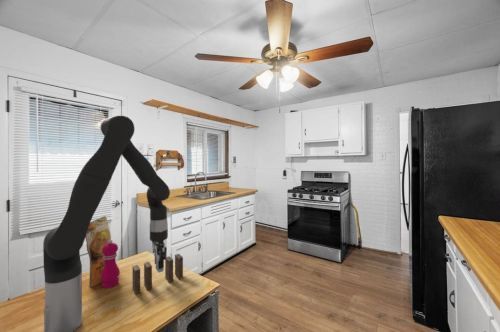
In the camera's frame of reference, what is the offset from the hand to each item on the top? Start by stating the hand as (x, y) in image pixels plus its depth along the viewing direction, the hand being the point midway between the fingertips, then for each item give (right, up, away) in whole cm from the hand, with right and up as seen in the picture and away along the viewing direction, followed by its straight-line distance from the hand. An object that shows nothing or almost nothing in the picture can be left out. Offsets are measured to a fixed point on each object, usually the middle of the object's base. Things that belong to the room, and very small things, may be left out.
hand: (159, 265), depth 97 cm
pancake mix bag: (-30, -8, +4) cm, 31 cm away
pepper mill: (-22, -8, -1) cm, 23 cm away
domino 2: (-4, -8, -3) cm, 9 cm away
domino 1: (-7, -8, -6) cm, 12 cm away
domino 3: (0, -2, 0) cm, 2 cm away
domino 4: (+3, -8, +3) cm, 9 cm away
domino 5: (+7, -8, +6) cm, 12 cm away
